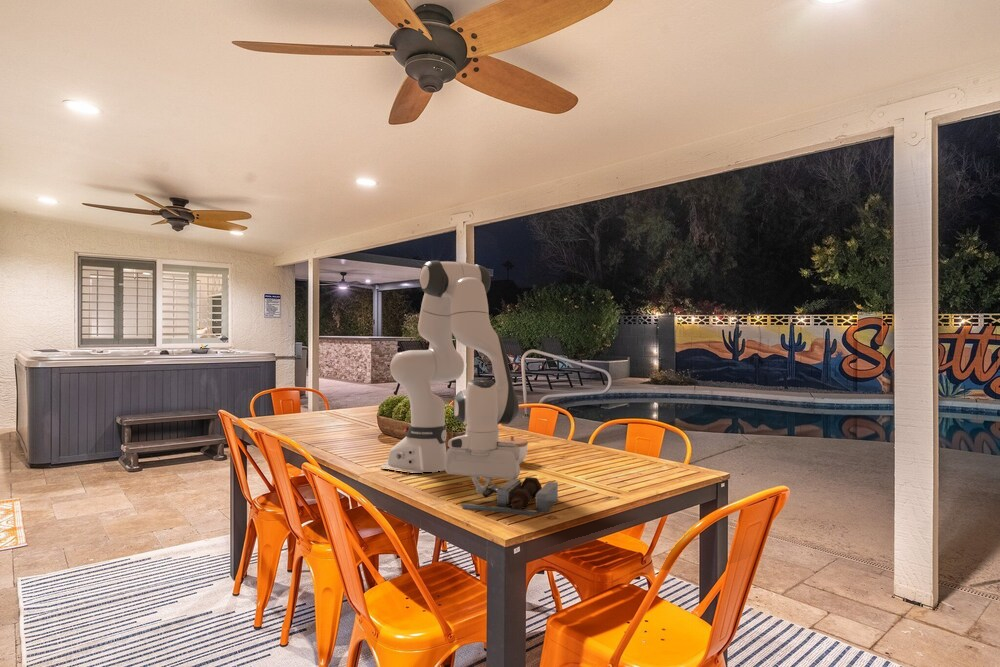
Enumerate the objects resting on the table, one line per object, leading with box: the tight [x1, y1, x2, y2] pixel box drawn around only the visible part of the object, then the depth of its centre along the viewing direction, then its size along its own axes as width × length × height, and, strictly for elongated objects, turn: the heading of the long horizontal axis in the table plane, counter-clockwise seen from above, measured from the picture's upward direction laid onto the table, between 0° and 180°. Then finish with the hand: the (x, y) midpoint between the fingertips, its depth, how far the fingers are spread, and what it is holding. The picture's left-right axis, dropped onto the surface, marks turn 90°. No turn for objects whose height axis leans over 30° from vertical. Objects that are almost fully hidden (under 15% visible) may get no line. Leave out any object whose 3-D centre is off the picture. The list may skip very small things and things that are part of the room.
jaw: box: [482, 478, 522, 508], centre depth 147 cm, size 8×12×4 cm, turn 161°
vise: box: [461, 481, 559, 517], centre depth 145 cm, size 21×15×5 cm
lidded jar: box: [499, 435, 529, 465], centre depth 192 cm, size 11×11×9 cm
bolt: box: [510, 476, 543, 509], centre depth 146 cm, size 6×5×15 cm
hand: (482, 493), depth 149 cm, fingers closed
